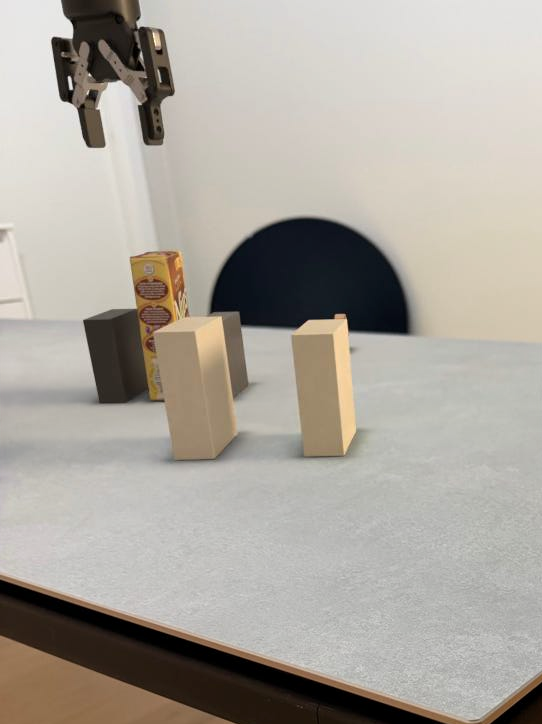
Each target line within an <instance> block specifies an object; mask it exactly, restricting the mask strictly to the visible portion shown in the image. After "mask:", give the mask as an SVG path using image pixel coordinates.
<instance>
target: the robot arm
mask: <svg viewBox="0 0 542 724" xmlns="http://www.w3.org/2000/svg"><path fill="white" fill-rule="evenodd" d="M60 3H61V8H62V13H63V16H64V18H66V19H67V20H68V21H69V22H70V24H71V25H72V26H71V27H72V38H70V37H61V36H52V37H51V40H50V45H51V51H52V57H53V63H54V70H55V76H56V83H57V84H56V85H57V89H58V90H57V91H58V96H59V99H60V101H61V102H63V103H69V104H70V105H73V107H74V108H76V110H77V115H78V119H79V125H80V129H81V130H80V131H81V136H82V139H83V141H84V143H85V145H86V147H87V149H88V148H89V149H104V148H105V147H106V145H107V143H106V138H105V132H104V127H103V121H102V115H101V110H100V109H98V107H99V104H100V100H101V96H102V93H103V92H104V91H106V90H107V88H108V85H109V84H110V83H111V84H112V83H117V82H119V81H120V82H121V81H122V83H123V84H124V85H126V86H127V87H128V88H129V89H130V90H131V92H132V93H133V95H134V96H135V98H136V99H137V100H138V102H139V103H140V104H137V108H138V109H137V111H138V116H139V122H140V129H141V130H140V131H141V136H142V141H143V144H144V145H145V146H148V147H151V146H153V147H155V146H156V147H157V146H158V147H159V146H162V145H164V139H165V128H164V123H163V113H162V108H161V107H162V106H161V104H162V103H163V102H164V100H165V99H166V98H168V97H173V96H175V92H176V89H175V83H174V78H173V73H172V68H171V62H170V57H169V56H170V55H169V52H168V51H169V50H168V46H167V45H168V44H167V40H166V35H165V32H164V30H163V29H161V28H156V27H152V26H138V23H137V22H138V21H140V20H141V17H142V13H141V6H140V0H60ZM141 56H142V57H141ZM69 78H70V79H71V86H72V89H71V88H70V82H69Z"/></svg>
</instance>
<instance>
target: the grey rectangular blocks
mask: <svg viewBox="0 0 542 724" xmlns="http://www.w3.org/2000/svg"><path fill="white" fill-rule="evenodd" d="M219 316H221V317H222V323H223V331H224V338H225V345H226V352H227V360H228V367H229V374H230V381H231V389H232V396H233V399H234V398H235V397H236V396H237V395H238V394H239V393H240V392H242V391H243V390H244V389H245V388H246V387H247V386H248V385H249V377H248V370H247V362H246V354H245V347H244V339H243V331H242V323H241V315H240V311H214V312H211V313H210V314H208V315H206V316H205V317H219ZM82 323H83V328H84V333H85V338H86V343H87V348H88V353H89V359H90V363H91V368H92V373H93V377H94V383H95V387H96V394H97V398H98V402H99V404H113V403H119V404H120V403H127V402H128V401H131V399H133V398H134V397H136V396H138V395H140V394H141V393H142V392H144V391H146V390H147V389H149V387H148V380H147V373H146V367H145V360H144V353H143V347H142V340H141V333H140V325H139V318H138V312H137V308H111V309H109V310H106V311H103V312H101V313H98V314H96V315H95V314H94V315H92V316H90V317H87V318H84V319H83V320H82Z"/></svg>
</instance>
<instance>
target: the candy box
mask: <svg viewBox="0 0 542 724" xmlns="http://www.w3.org/2000/svg"><path fill="white" fill-rule="evenodd" d="M129 263H130V270H131V277H132V284H133V290H134V298H135V304H136V309H137V312H138V318H139V325H140V333H141V340H142V347H143V353H144V360H145V367H146V373H147V380H148V387H149V388H148V391H149V392H148V394H149V400H150V401H164V395H163V389H162V383H161V377H160V372H159V366H158V360H157V354H156V348H155V342H154V336H153V332H154V331H156V330H158V329H161V328H163V327H165V326H167V325H169V324H171V323H173V322H175V321H177V320H179V319H181V318H183V317H190V311H189V304H188V303H189V302H188V296H187V288H186V281H185V273H184V272H185V271H184V264H183V257H182V252H181V251H179V250H156V251H155V250H154V251H146V252H144V253H141V254H138V255H133V256H129Z"/></svg>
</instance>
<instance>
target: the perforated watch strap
mask: <svg viewBox="0 0 542 724" xmlns="http://www.w3.org/2000/svg"><path fill="white" fill-rule="evenodd" d="M333 319H347V315H346V314H345V313H336V314H334V318H333ZM348 325H349V324H347V327H348V328H349V326H348ZM349 332H350V331H349V329H348V337H349V336H350V333H349Z"/></svg>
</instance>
